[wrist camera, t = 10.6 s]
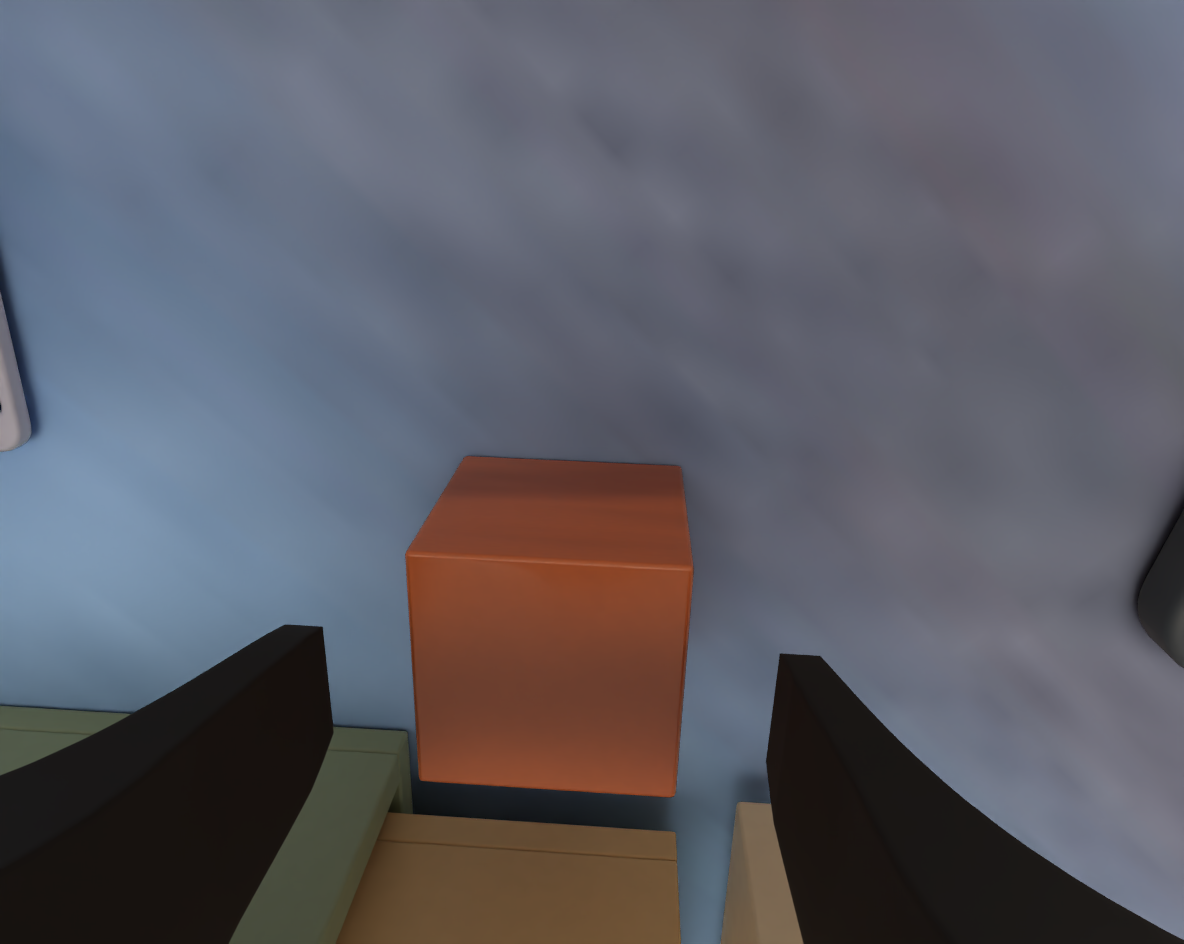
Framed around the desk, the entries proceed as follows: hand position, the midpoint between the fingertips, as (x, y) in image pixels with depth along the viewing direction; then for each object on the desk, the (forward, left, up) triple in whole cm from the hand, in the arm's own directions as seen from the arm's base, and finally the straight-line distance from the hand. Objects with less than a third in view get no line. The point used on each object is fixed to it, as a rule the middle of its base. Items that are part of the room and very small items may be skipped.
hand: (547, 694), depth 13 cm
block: (0, 0, -5) cm, 5 cm away
